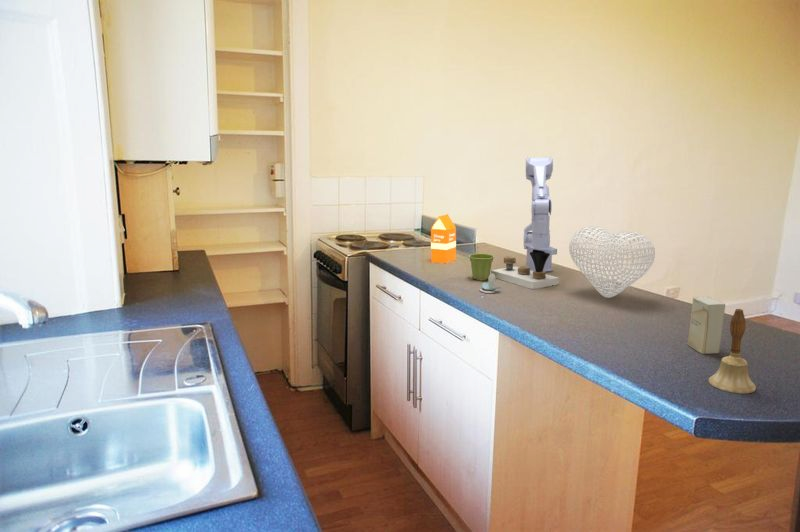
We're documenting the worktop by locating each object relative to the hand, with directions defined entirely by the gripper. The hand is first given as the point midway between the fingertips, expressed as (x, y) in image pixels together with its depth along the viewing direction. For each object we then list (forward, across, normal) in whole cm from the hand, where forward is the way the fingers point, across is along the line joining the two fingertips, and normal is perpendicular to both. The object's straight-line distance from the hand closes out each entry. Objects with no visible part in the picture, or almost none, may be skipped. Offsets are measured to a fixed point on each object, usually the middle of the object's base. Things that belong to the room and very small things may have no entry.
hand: (539, 271), depth 194 cm
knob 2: (+5, 0, 0) cm, 5 cm away
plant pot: (+5, -19, -11) cm, 23 cm away
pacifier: (+5, -2, -20) cm, 21 cm away
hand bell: (+5, +84, -26) cm, 87 cm away
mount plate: (+5, -8, 0) cm, 9 cm away
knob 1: (+2, -16, 0) cm, 16 cm away
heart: (+5, +24, +6) cm, 26 cm away
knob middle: (+5, -8, 0) cm, 9 cm away
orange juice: (+5, -54, -4) cm, 55 cm away
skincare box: (+5, +68, -12) cm, 70 cm away
